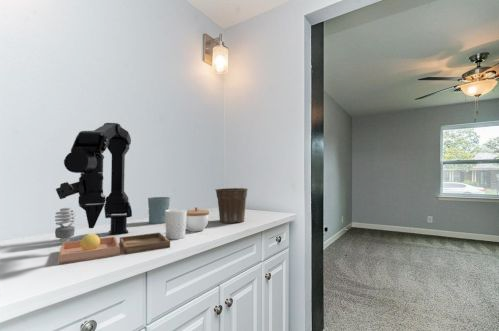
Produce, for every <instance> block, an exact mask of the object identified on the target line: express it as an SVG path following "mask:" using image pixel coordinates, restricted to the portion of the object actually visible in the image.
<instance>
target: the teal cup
mask: <svg viewBox="0 0 499 331" xmlns="http://www.w3.org/2000/svg"><path fill="white" fill-rule="evenodd" d="M170 202H171V198H170V197H169V196H167V197H166V196H154V197H152V196H151V197H148V198H147V203H148V224H150V225H162V224H163V225H164V224H165V210H169V207H170Z"/></svg>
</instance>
